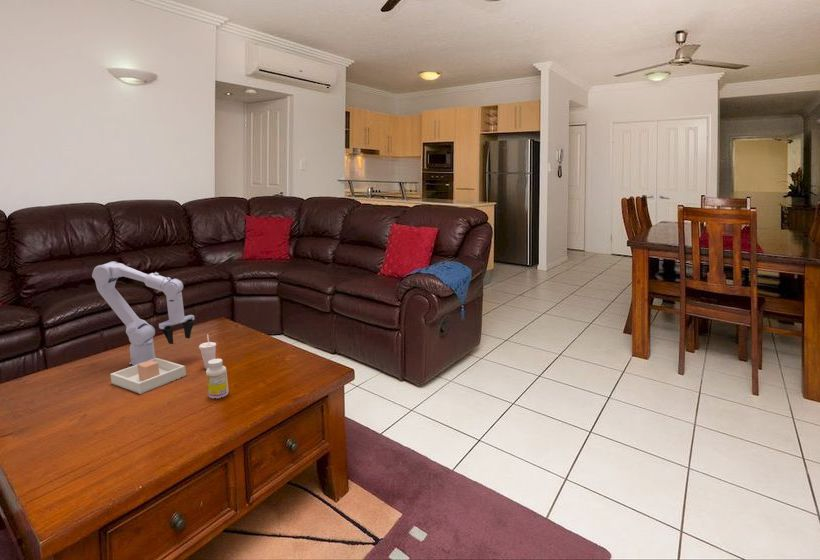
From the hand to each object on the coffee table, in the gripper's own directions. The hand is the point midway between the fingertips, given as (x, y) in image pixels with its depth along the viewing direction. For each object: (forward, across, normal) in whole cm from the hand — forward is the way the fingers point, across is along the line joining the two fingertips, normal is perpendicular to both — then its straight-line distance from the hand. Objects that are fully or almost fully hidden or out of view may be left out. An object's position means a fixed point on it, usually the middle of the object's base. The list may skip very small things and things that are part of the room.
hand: (179, 340), depth 189 cm
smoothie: (+10, +2, -15) cm, 18 cm away
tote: (+9, -17, -5) cm, 20 cm away
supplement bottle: (+10, -13, -39) cm, 42 cm away
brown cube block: (+9, -17, -5) cm, 20 cm away
